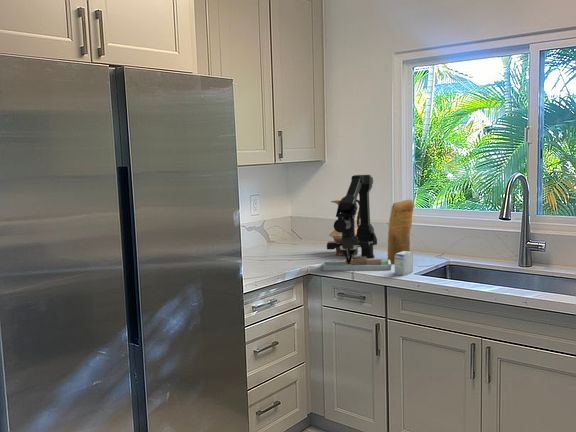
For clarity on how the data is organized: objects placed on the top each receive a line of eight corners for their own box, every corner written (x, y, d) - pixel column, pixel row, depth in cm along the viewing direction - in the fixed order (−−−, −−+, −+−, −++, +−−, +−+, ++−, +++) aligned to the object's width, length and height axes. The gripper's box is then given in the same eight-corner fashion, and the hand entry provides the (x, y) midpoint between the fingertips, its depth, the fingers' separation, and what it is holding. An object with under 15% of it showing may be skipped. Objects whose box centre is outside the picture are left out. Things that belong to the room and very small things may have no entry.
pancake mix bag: (419, 259, 268) (418, 199, 265) (393, 265, 255) (392, 202, 252) (407, 257, 273) (406, 198, 270) (381, 263, 260) (380, 202, 257)
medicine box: (403, 271, 244) (403, 250, 243) (413, 272, 241) (413, 251, 240) (394, 274, 238) (394, 253, 237) (404, 275, 235) (403, 254, 234)
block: (353, 266, 256) (353, 256, 256) (366, 266, 255) (366, 256, 255) (353, 269, 251) (352, 258, 251) (366, 268, 250) (366, 258, 250)
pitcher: (364, 250, 295) (363, 196, 292) (365, 257, 278) (364, 199, 275) (329, 251, 296) (328, 197, 293) (329, 257, 280) (327, 200, 277)
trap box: (323, 264, 264) (323, 258, 264) (389, 263, 260) (389, 258, 260) (321, 270, 251) (320, 264, 250) (391, 269, 247) (390, 264, 246)
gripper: (325, 232, 245) (326, 268, 247) (369, 231, 243) (370, 268, 245) (327, 228, 256) (328, 263, 258) (369, 228, 254) (370, 263, 256)
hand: (348, 264), depth 254 cm, fingers closed
